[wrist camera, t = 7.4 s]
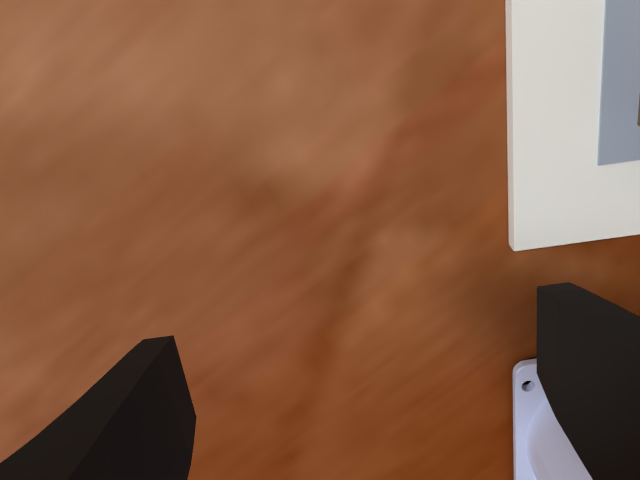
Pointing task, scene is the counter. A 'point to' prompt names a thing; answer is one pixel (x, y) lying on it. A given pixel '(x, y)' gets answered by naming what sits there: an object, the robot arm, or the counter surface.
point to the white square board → (572, 121)
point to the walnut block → (639, 113)
